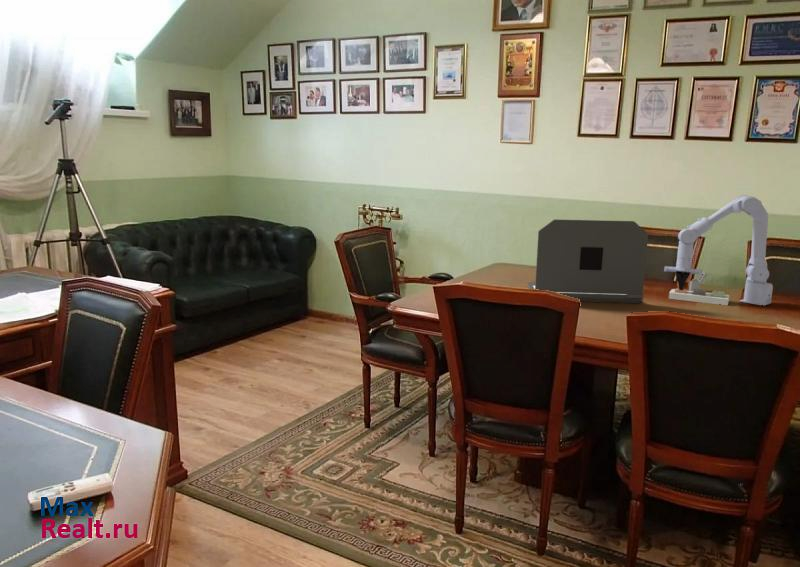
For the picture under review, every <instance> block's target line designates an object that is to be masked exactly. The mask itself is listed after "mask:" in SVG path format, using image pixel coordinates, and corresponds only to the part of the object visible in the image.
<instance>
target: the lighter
mask: <svg viewBox="0 0 800 567" xmlns="http://www.w3.org/2000/svg"><path fill="white" fill-rule="evenodd" d="M699 276H700V277H699V278H692V280H690V281H689V283H688V284H689V286H688V291H694V289H701V287H700V286H701V283H703V282H704V281H705V279H706V278H707V276H708V273H706V272H702V275H699Z"/></svg>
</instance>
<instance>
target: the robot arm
mask: <svg viewBox="0 0 800 567" xmlns="http://www.w3.org/2000/svg"><path fill="white" fill-rule="evenodd" d="M742 212H743V213H746V214H747V215H748V216H749V217H751V218H752V232H751V236H752V237H751V252H750V257H749V259H748V264H747V266H746V268H745V274H746V276H747V277H746V278H745V279H746V280H745V285H744V286H745V287H744V294H743V299H740V300H739V302H741V303H745V304H747V303H748V304H751V305H752V304H753V305H758V306H762V305H763V306H766V305H770V304H772V297H773V296H772V295H773V290H774V286H773V284H772V283H769V282H767V280H768V279H769V277H770V270H768V263H767V259H766V256H767V255H766V253H767V242H768V241H767V239H768V226H769V223H768V222H769V213H768V211H767V210H766V208H765V206H764V205H763V203H762V201H761V200H759V199H758V198H756V197H755V196H750V195H745V194H744V195H740V196H738V197H737V198H735V199H733V200H731V201H730V202H728V203H727V204H726V205H724V206H723V207H721V208H720V209H719V210H717V211H715V212H714V213H713V214H711V215H710V216H708V217H705V216H704V217H702V218H701V217H699V218H696V219H697V221H695V222H694V223H692V224H691V225H687V226H686V228H684V229H681V230H680V231H679V233H678V234H677V239H678V240H679V241H678V246H677V253H676V264H675V266H669V265H668V266H666V265H665V266H664V269H663V272H671V273H675V277H676V280H677V283H678V288H679V290H683V289H685V288H684V287H685V284H686V282H687V280H688V279H689V276H690V275H691V274H692V275H699V276H701V275H702V273H704V270H703V269H701V268H700V269H699V268H692V262H693V253H694V243H695V242H696V241H697V238H699V237H701V236H702V235H704V234H706V233H707V232H709V231H710V230H712V229H713V226H714V224H715V223H717V222H719V221H721V220H723V219H724V218H725V217H727V216H729V215H731V214H733V213H737V214H738V213H742ZM763 306H762V307H763Z"/></svg>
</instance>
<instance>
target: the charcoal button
mask: <svg viewBox="0 0 800 567" xmlns="http://www.w3.org/2000/svg"><path fill="white" fill-rule="evenodd" d="M706 292H707V291H706V289H705V288H704V289H703V288H699V289H694V291H693V294H694V295H703V296H705V293H706Z"/></svg>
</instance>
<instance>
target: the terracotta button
mask: <svg viewBox="0 0 800 567" xmlns="http://www.w3.org/2000/svg"><path fill="white" fill-rule="evenodd" d="M674 289H675V292H676V293H685V294H687V291H688V288H683V290H679V287H678V288H674Z"/></svg>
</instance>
